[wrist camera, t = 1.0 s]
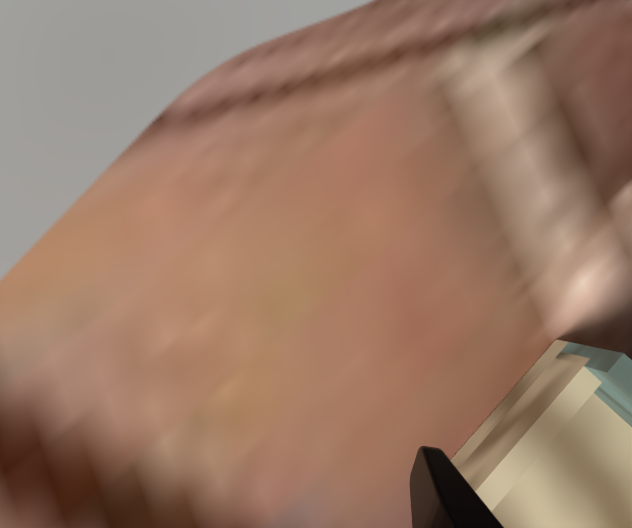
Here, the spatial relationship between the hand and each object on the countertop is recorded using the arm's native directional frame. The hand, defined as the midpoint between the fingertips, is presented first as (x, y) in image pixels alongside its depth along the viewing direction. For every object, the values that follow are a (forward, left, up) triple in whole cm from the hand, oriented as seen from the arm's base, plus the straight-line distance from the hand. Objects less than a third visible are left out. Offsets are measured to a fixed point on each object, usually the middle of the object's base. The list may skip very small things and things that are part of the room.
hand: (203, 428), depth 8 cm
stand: (-3, -18, -15) cm, 24 cm away
